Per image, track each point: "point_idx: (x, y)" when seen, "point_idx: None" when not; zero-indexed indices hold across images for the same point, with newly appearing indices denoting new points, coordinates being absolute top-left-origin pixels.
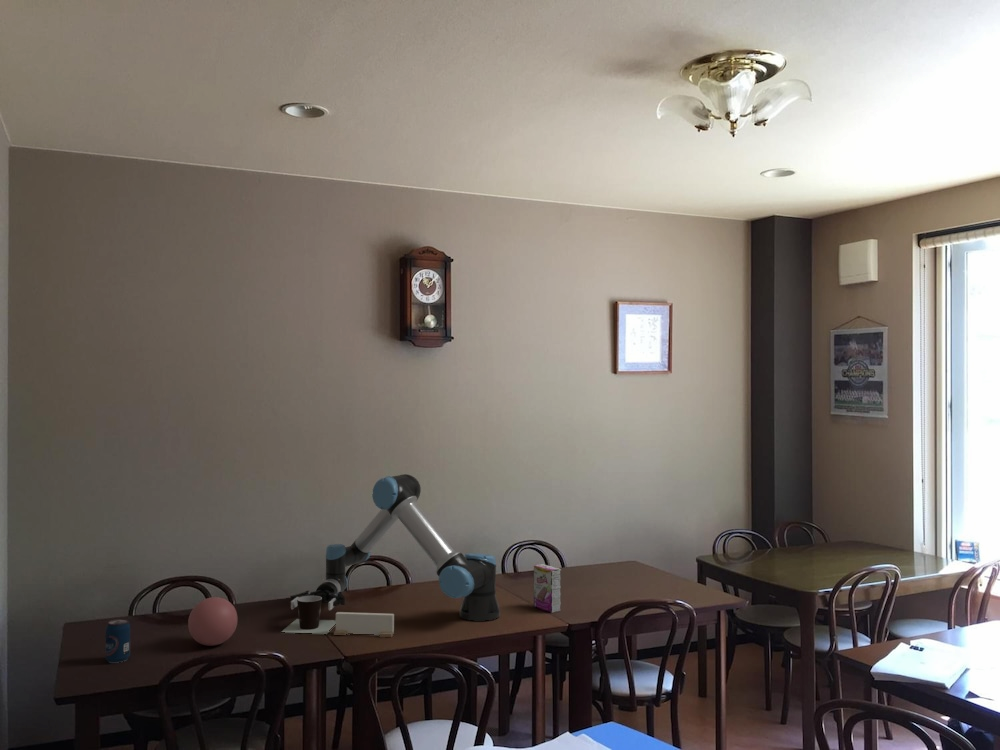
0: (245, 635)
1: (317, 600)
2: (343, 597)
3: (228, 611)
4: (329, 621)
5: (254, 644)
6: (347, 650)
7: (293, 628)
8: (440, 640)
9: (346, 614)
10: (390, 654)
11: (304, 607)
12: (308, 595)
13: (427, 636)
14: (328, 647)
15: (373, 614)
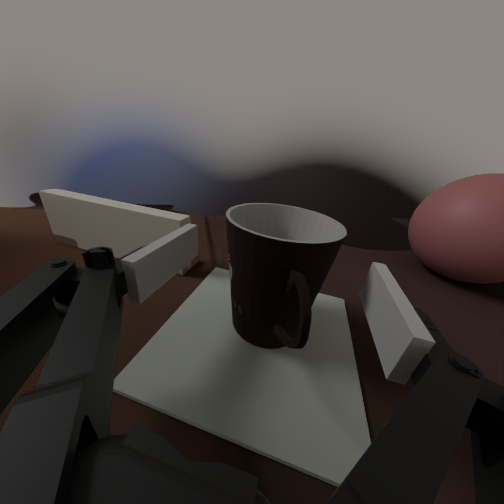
0: (433, 306)
1: (247, 204)
2: (56, 259)
3: (432, 193)
4: (169, 376)
5: (360, 260)
6: (195, 220)
7: (318, 318)
8: (12, 211)
9: (161, 211)
10: (143, 205)
11: (291, 228)
12: (374, 440)
13: (4, 223)
14: (221, 230)
15: (94, 197)
